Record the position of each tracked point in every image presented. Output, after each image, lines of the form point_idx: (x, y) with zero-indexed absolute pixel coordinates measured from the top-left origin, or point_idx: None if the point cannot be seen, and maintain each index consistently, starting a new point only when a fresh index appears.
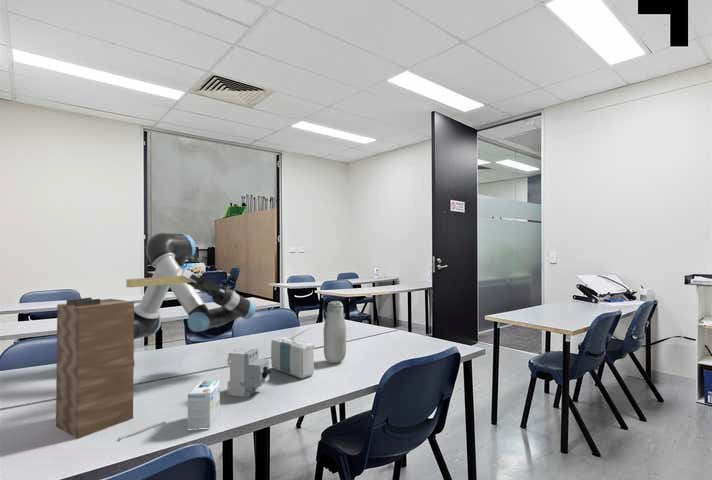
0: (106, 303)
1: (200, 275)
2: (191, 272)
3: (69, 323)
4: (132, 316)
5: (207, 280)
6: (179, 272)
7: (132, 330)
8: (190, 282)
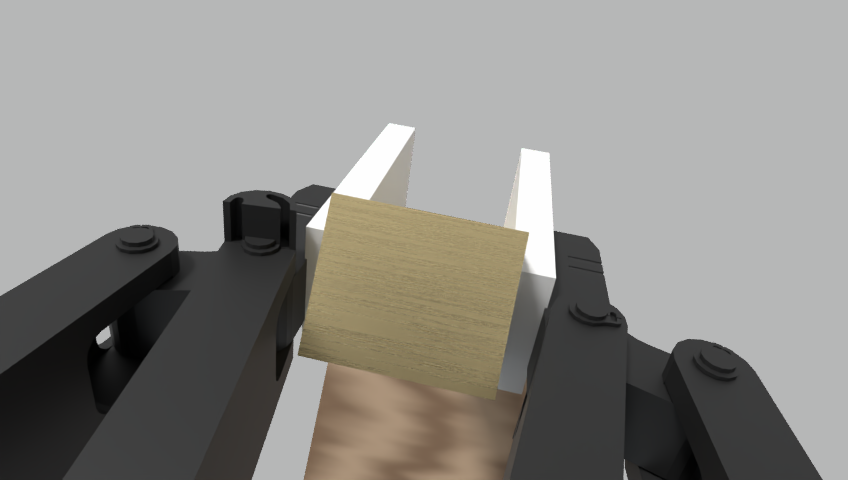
0: None
1: (333, 212)
2: (362, 162)
3: None
4: (323, 390)
5: (78, 274)
6: (510, 202)
7: (310, 455)
8: (523, 406)
